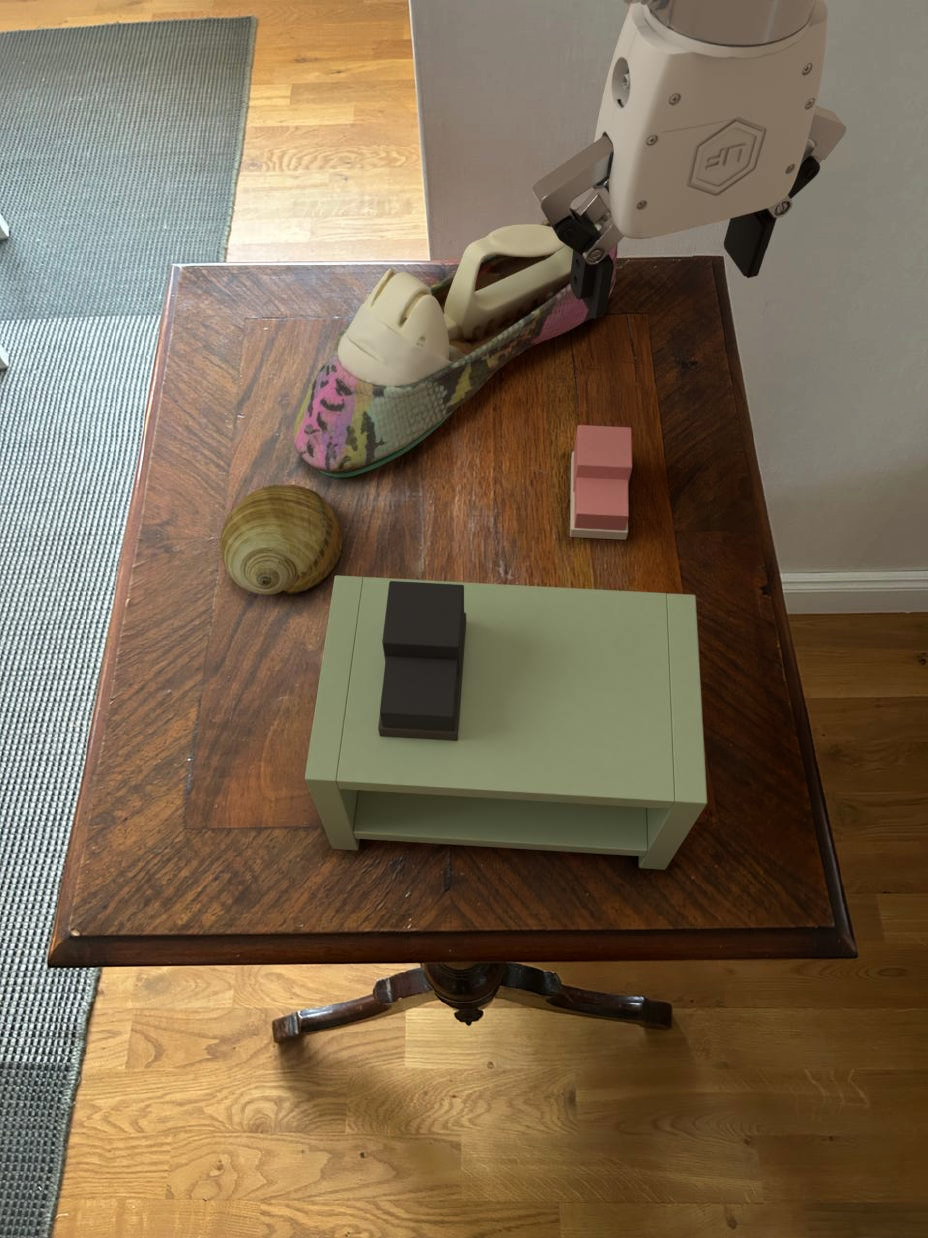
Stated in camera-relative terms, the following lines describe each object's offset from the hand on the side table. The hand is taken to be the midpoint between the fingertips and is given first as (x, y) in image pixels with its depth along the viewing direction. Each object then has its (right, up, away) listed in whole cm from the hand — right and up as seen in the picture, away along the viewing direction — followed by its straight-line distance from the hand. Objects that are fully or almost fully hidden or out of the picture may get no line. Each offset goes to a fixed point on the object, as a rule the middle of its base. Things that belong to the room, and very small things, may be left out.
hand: (665, 281), depth 59 cm
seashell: (-24, -15, +12) cm, 31 cm away
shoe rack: (-9, -29, +4) cm, 31 cm away
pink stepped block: (-2, -11, +14) cm, 18 cm away
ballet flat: (-12, 0, +21) cm, 24 cm away
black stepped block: (-14, -23, -6) cm, 27 cm away
